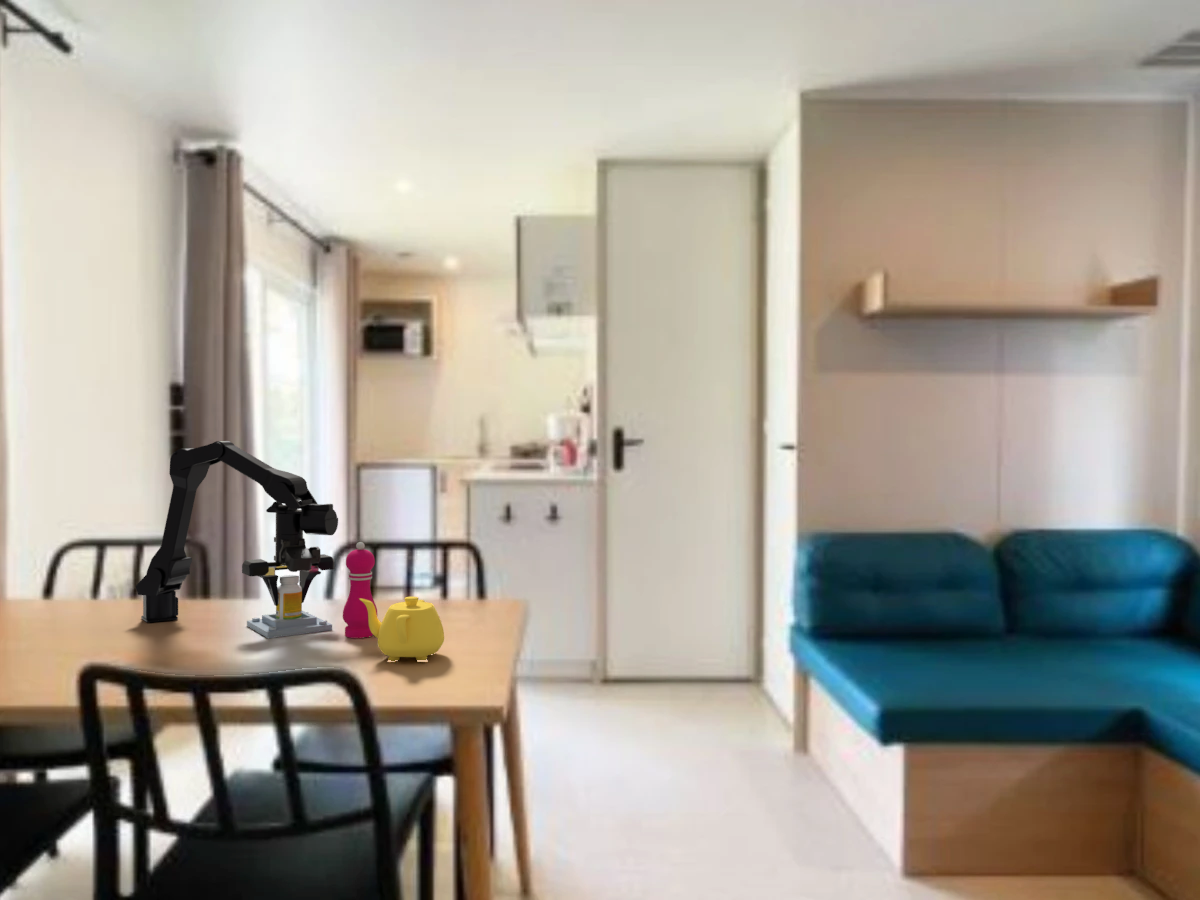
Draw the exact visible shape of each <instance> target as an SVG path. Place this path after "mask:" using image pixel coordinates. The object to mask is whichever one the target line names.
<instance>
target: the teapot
mask: <svg viewBox="0 0 1200 900" xmlns="http://www.w3.org/2000/svg"><path fill="white" fill-rule="evenodd" d="M360 600H361V601H362V602H363V603H364V604H365V605H366V607H367V610H368V621H369V628H370V630H371V632H372V634H373V635H374V636H373V637H375V638H377V646H378V649H379V650H380V651H381V652H382V654H384V655H385V656H387V657H388V658H387V659H388V660H391V661H395V660H399V661H400V659H401V658H415V661H416V660H426V659H427V658H428V655H431V654H434V653H435V654H436V653H437V652H438V651H439V650H440V649H441V647H442V645H443V644H444V642H445V632H444V626H443V623H442V620H441V618H440V615H439V613H438V611H437V609H436V607H435V605H434V604H433V603H432V602H427V601H425V600H424V599H419V597H418V596H407V597H404V601H399V602H397V603H392V604H391V605H390V606H389V607H388V609H387V611H386V612H385V614H384V617H383V619H382V621H380V620H379V618H378V614H377V615H376V609H375V606H374V604H373V603H372V602H371V601H369V600H366V599H360ZM431 656H432V655H431Z"/></svg>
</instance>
